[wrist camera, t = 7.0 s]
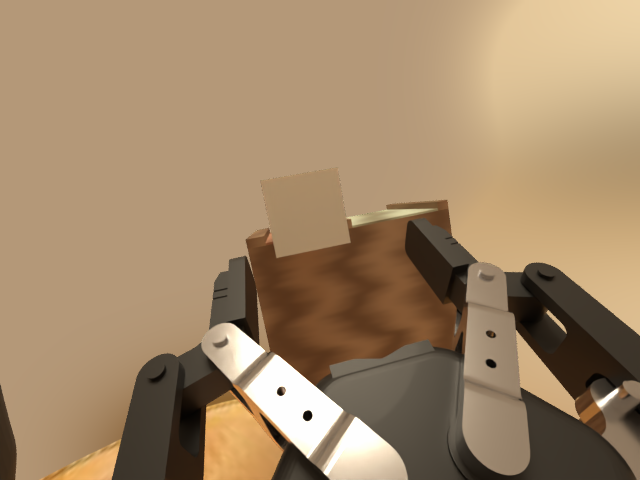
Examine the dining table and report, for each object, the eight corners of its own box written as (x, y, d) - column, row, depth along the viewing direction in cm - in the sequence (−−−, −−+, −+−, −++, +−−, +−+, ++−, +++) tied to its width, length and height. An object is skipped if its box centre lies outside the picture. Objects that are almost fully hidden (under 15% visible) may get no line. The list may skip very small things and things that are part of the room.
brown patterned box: (319, 571, 27) (245, 239, 23) (307, 462, 39) (256, 230, 35) (487, 512, 29) (447, 199, 25) (427, 426, 41) (393, 203, 37)
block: (276, 257, 15) (260, 180, 14) (278, 229, 38) (271, 200, 38) (350, 242, 15) (337, 167, 15) (306, 224, 39) (301, 195, 38)
